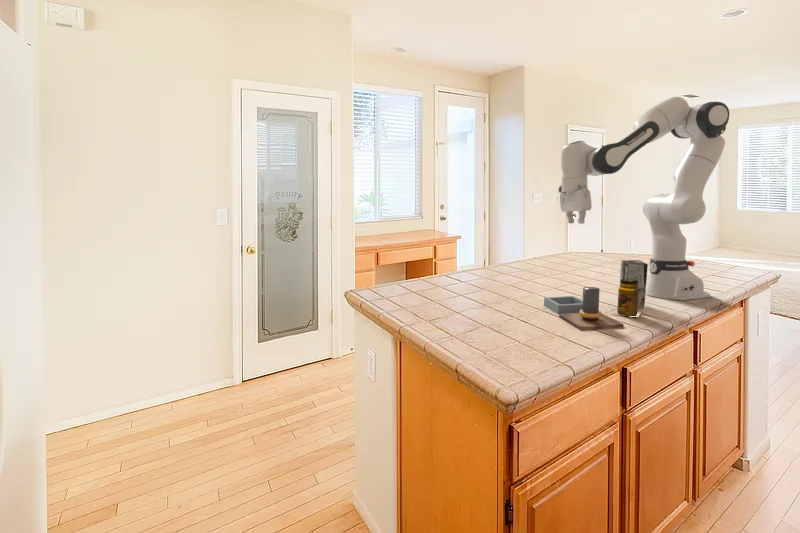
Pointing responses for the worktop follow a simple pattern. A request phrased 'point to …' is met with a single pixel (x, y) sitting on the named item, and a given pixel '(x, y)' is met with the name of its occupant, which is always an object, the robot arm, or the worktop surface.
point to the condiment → (628, 297)
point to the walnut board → (590, 322)
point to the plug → (590, 304)
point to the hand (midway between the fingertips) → (576, 223)
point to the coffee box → (636, 277)
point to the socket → (564, 304)
